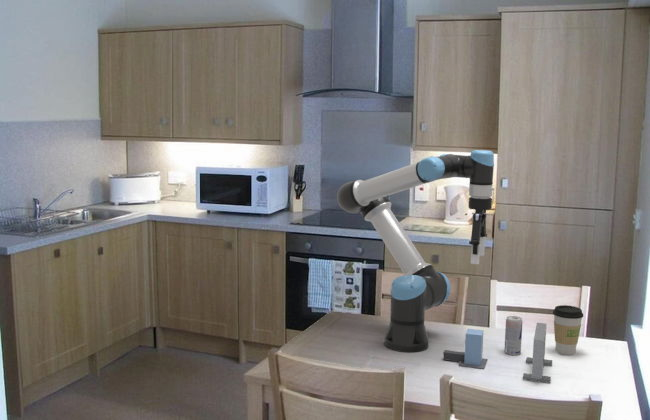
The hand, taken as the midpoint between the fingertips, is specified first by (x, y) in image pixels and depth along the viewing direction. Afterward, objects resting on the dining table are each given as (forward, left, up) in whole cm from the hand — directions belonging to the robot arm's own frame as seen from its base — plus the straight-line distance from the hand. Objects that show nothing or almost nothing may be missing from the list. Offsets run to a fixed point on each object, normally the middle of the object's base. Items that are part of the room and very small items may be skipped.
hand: (477, 259), depth 241 cm
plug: (-2, -15, -30) cm, 34 cm away
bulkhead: (+22, -15, -31) cm, 41 cm away
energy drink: (+13, 0, -31) cm, 34 cm away
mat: (+2, -15, -31) cm, 34 cm away
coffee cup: (+30, +7, -31) cm, 44 cm away
